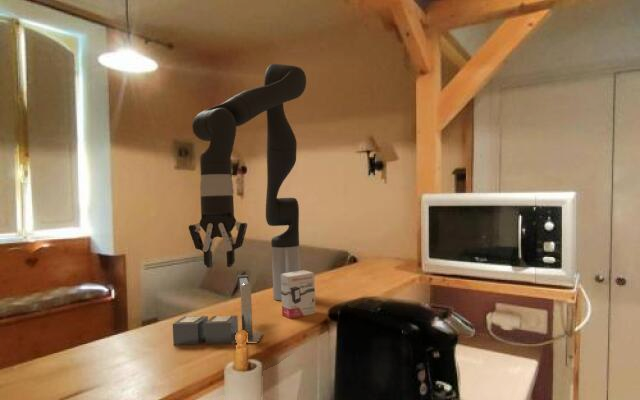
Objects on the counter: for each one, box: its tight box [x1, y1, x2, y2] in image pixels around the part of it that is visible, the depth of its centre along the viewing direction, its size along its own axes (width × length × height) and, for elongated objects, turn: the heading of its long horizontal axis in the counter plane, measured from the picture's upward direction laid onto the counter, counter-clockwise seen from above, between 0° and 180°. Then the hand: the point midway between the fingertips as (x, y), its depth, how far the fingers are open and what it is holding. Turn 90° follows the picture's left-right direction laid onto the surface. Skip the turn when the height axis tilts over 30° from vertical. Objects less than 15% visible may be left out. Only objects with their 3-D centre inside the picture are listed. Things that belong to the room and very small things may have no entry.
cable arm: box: [237, 274, 250, 293], centre depth 105 cm, size 16×3×3 cm, turn 13°
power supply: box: [205, 314, 239, 346], centre depth 96 cm, size 6×6×5 cm
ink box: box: [281, 269, 316, 319], centre depth 115 cm, size 8×5×12 cm, turn 123°
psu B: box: [172, 315, 209, 346], centre depth 96 cm, size 6×6×5 cm
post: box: [231, 282, 264, 345], centre depth 96 cm, size 6×6×13 cm
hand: (219, 266), depth 96 cm, fingers open, 4 cm apart
